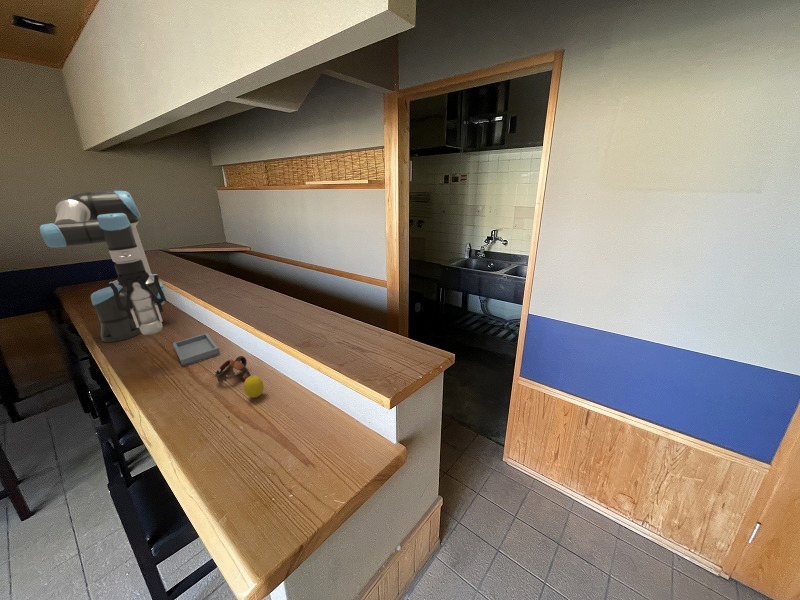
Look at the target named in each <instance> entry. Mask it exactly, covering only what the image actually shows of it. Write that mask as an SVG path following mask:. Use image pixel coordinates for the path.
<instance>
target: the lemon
mask: <svg viewBox="0 0 800 600" xmlns="http://www.w3.org/2000/svg"><path fill="white" fill-rule="evenodd" d="M264 387H265V386H264V382H263V380H262V379H261V377H260V376H257V375H250V376H249V377H248V378H247V379H246V380H245V379H244V384H243V389H244V392H245V394H246V396H247V397H249V398H258V397H259V396H261V395H262V393H263V392H264V389H265V388H264Z"/></svg>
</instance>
